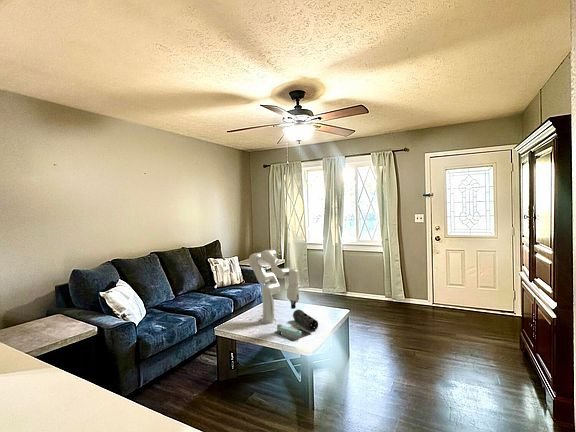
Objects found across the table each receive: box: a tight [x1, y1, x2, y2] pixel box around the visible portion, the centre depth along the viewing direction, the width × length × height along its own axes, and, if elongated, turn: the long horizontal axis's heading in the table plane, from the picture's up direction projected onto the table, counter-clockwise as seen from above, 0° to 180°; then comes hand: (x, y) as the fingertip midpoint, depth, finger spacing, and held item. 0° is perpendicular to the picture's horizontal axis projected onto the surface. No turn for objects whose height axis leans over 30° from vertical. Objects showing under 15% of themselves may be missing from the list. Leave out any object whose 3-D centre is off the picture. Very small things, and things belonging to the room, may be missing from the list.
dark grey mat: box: [273, 325, 312, 342], centre depth 237 cm, size 22×20×1 cm
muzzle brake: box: [292, 309, 319, 332], centre depth 253 cm, size 10×28×10 cm, turn 25°
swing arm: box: [276, 323, 301, 336], centre depth 233 cm, size 22×4×5 cm, turn 53°
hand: (293, 308), depth 245 cm, fingers closed
